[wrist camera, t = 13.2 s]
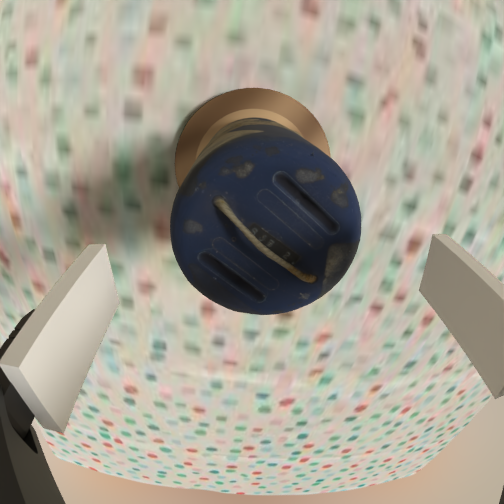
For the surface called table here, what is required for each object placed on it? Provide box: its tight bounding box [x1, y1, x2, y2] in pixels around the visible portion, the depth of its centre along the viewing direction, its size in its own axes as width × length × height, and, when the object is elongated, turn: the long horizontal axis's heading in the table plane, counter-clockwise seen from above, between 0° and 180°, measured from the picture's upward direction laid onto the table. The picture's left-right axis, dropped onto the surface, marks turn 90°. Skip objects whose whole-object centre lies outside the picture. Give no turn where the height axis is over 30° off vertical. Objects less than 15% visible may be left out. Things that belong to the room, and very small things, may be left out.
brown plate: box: [175, 88, 330, 188], centre depth 30 cm, size 15×15×1 cm
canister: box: [170, 117, 361, 315], centre depth 22 cm, size 10×10×18 cm
